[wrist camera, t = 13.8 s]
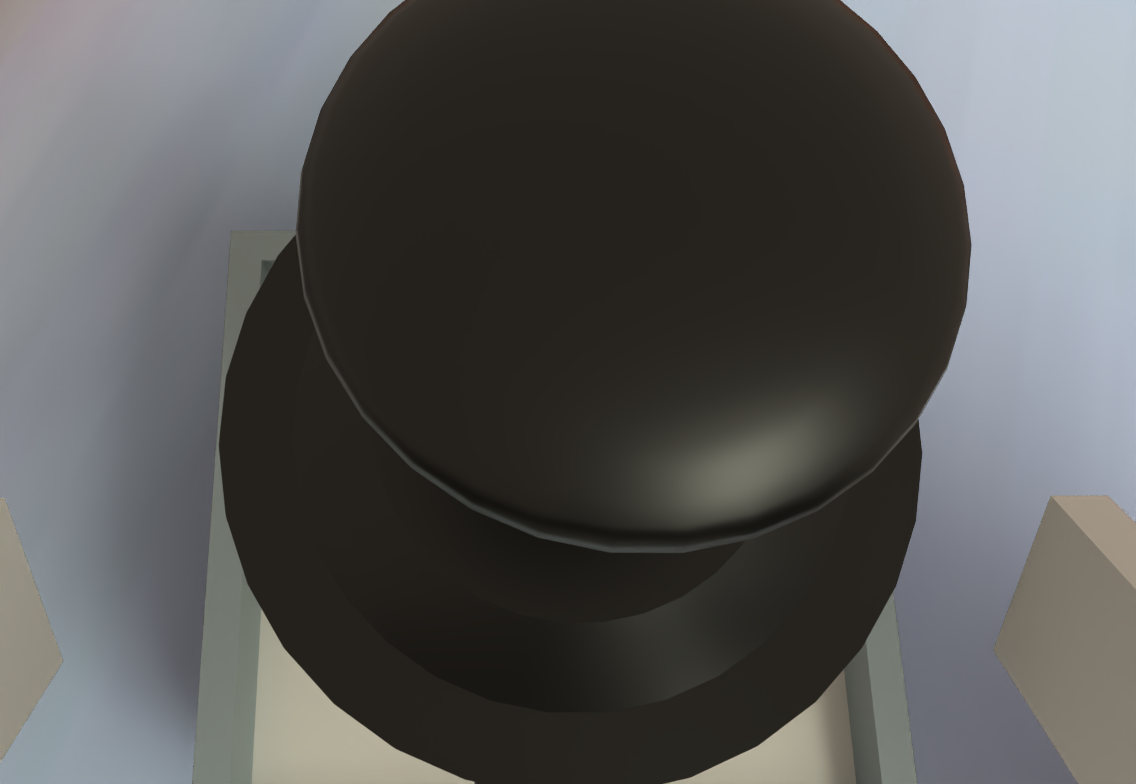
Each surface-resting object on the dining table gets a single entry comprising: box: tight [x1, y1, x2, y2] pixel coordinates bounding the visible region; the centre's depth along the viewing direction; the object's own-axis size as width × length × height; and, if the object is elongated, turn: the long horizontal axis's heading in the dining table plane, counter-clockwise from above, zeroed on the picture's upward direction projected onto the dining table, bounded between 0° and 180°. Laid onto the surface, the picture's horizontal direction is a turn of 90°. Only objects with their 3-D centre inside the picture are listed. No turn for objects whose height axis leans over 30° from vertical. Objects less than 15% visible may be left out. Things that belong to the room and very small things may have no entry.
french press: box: [219, 0, 971, 784], centre depth 16 cm, size 12×9×23 cm
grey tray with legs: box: [192, 231, 917, 784], centre depth 29 cm, size 20×20×8 cm
